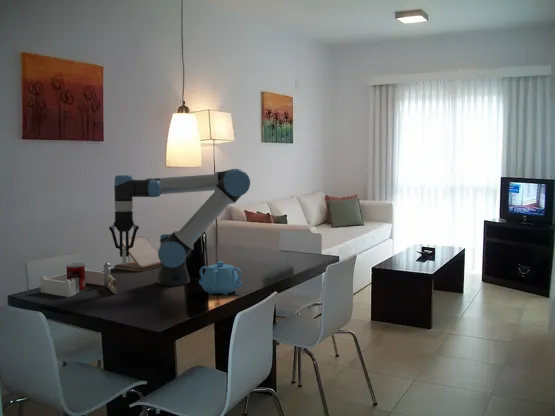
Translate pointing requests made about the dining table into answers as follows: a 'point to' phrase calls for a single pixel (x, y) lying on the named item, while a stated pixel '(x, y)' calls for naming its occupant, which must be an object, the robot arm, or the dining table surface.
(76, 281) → the latch stile
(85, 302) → the dining table surface
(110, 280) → the gate
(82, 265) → the canned food
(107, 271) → the hinge post
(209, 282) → the decorative pot
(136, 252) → the case
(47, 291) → the pen fence
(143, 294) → the dining table surface
